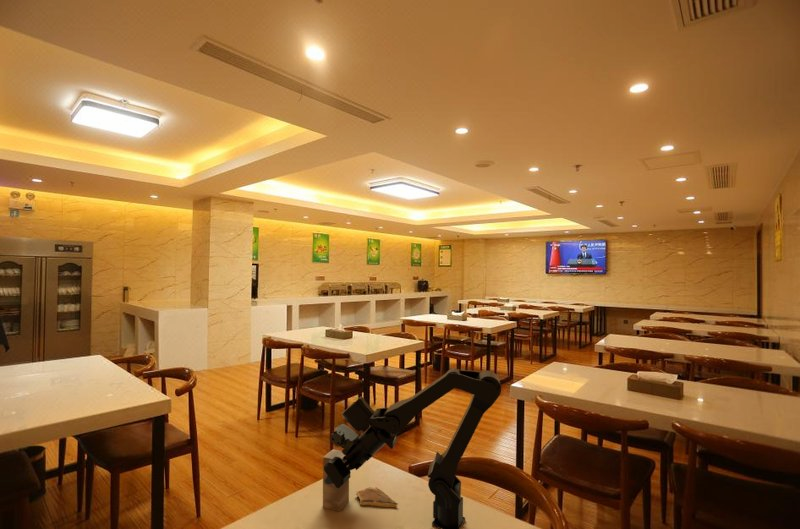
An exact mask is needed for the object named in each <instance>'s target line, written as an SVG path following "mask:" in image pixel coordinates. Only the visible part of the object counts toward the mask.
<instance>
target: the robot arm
mask: <svg viewBox="0 0 800 529" xmlns="http://www.w3.org/2000/svg"><path fill="white" fill-rule="evenodd" d="M454 389H457V390H460V391H463V392H466V393H468V394H471V397H470V401H469V404H468V406H467V408H466V409H465V412H464V413H463V416H462V418H461V420H460V422H459V423H458V426H457V428H456V429H455V431H454V434H453V435H452V438H451V440H450V442H449V444H448V445H447V447H446V450H445V451H443V453H442V454H441V453H439V451H435V456H434V459H433V460H432V461H431V462H430V463H429V468H428V473H427V478H428V481H427V482H428V485H427V486H428V489H429V491H430V492H431V493H432V494H433V495H434V500H433V501H432V518H433V520H432V522H431V526H433V527H436V528H438V529H441V528H442V529H461V527H462V526H463V525H464V523H465V521H466V517H465V516H464V498H463V497H462V481H461V480H460V479H459V478H458V477H457V471H458V467H459V463H460V461H461V459H462V458H463V455H464V454H465V452H466V450H467V447H468V445H469V443H470V442H471V439H472V437H473V436H474V434H475V432H476V429H477V428H478V426H479V424H480V422H481V420H482V418H483V416H484V414H485V413H486V412H487V411H488V410H489V409H490V408H491V407H492V406H493V405H494V404H495V403H496V401H497V400H498V399H499V397H500V395H501V393H502V386H501V382H500V378H499V377H498V375H497V374H496V373H495V372H494V371H491V370H483V371H475V370H467V369H466V370H465V369H464V370H463V369H458V368H454V367H453V368H450V369H449V370H447V372H446V373H444V374H443V375H441V376H440V377H438V378H437V379H435V380H434V381H433V382H431V383H430V384H428V385H427V386H425V387H424V388H423V389H421V390H420V391H418V392H417V393H415V394H414V395H412V396H411V397H409V398H405V399H402V400H399V401H396V402H394V403H393V404H391V405H389V407H379V408H377V407H376V409H375V410H374V409H373V407H371V406H370V405H369V403H368V402H366V399H365V398H364V397H363V396H362V395H361V396H360V397H359V398H357V399H356V400H355V401H353V402H352V403H350V405H349V406H348V407H347V408H346V409H345V410H344V411H343V412H342V414H341V416H342V417H343V418H344V419H345V421H346V422H348V423H349V425H350V426H351V427H352V428H353V429H354V430H353V429H352V428H351V427H349V426H347V425H346V424H345V423H342V424H340V425H338V426H336V427H335V428H334V430H333V432H331V433H330V442H331V443H332V444H333V445H334V446H336V447H340V448H342V450H341V451H342V453H343V454H344V455H345V456H344V457H343V460H344V461H346V460H347V461H346V462H345V463H344V462H343V461H342V460H341V458H340V457H336V456H335V457H334V458H333V459H332V460H330V461H329V462H328V463H327V464H326V465H325V466H324V471H325V472H326V474H327V475H328V476H327V478H326V480H325V483H326V484H334V485H335V487H336V488H340V487H341V486H342V485H343V484H344V483H345V482H346V481H347V480H348V479H349V480H350V479H351V471H352V470H355V471H357V470H358V469H360V468H361V467H362V466H363V465H364V464H365V463H366V462H368V461H369V460H370V459H371V458H372V457H373V456H375V454H376V453H377V452H378V451H379V450H381V448H383V447H384V446H385V445H387V446H388V447H389V449H391V450H392V449H394V447H395V445H396V443H397V434H400V433H401V432H402V431H403V430H404V429H405V428H406V427H407V426H408V425H409V424H410V423H411V422H412V420H413V419H414V418H415V417H416V416H417V415H418V414H419V413H421V412H422V411H423V410H425V409H427V408H428V407H429V406H431V405H433V403H435V402H437V401H438V400H440V399H441V398H442V397H444V396H445V395H447V394H448V393H450V392H451V391H453V390H454ZM368 426H369V427H368ZM367 427H368V428H367ZM364 430H365V431H364ZM357 432H361V433H360V434H358V433H357ZM348 465H349V466H348ZM346 466H348V467H346Z"/></svg>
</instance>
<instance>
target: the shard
mask: <svg viewBox="0 0 800 529" xmlns="http://www.w3.org/2000/svg"><path fill="white" fill-rule="evenodd" d="M355 495H356V496H357V497H358V498H359V500H360V501H359V505H360V506H375V507H385V508H397V506H398V505H399V504H398V502H396V501H395V500H394V499H392V498H391V497H390V496H389V495H388V494H386V493H385V492H384V491H383V490H382V489H380V488H378V487H376V486H375V487H374V486H373V487H367V488H364V489H361V490H358V491H356V492H355Z"/></svg>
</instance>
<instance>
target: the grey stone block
mask: <svg viewBox="0 0 800 529" xmlns="http://www.w3.org/2000/svg"><path fill="white" fill-rule="evenodd" d="M335 456H336V457H340V458H341V460H342V461H343V462H344V463H345V462H346V461H347V460H346V461H344V460H343V457H344V456H345V455H344V454H343V453H342V450H339V449H331V450H330V451H329V452H328V453H326V454H325V455H324V456H323V457H322V459H323V460H322V507H323V508H326V509H329V510H333V511H337V512H340V511H341V510H342V509H343V508H344V507H345V506H346V505H347V503H349V502H350V478H349V479H348V480H347V481H346V482H345V483H344V484H343V485H342V486H341V487H340V488H336V487H335V485H334V484H326V483H325V480H326V478H327V476H328V475H327V474H326V472H325V471H324V466H325V465H326V464H327V463H328V462H329V461H330V460H332V459H333V458H334V457H335ZM348 466H349V465H348ZM348 466H346V467H348Z"/></svg>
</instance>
